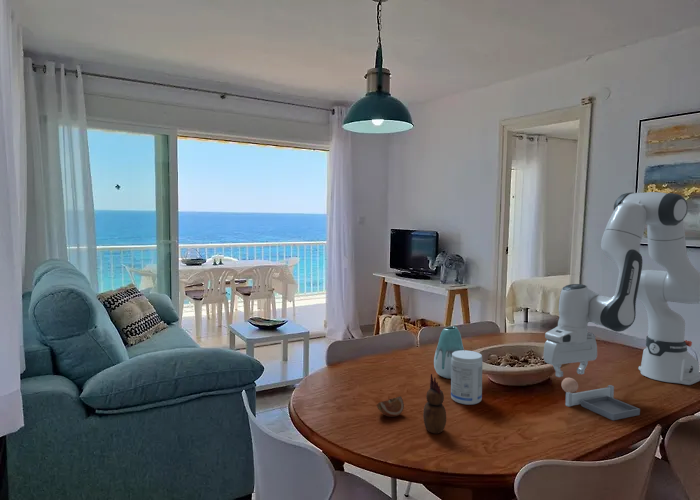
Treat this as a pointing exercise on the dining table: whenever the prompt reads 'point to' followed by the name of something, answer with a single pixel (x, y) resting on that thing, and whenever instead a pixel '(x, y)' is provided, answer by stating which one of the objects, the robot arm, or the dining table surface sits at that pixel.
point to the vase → (447, 350)
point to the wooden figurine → (434, 409)
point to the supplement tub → (466, 377)
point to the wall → (588, 395)
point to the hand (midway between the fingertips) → (569, 375)
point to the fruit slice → (391, 407)
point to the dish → (610, 407)
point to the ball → (569, 385)
